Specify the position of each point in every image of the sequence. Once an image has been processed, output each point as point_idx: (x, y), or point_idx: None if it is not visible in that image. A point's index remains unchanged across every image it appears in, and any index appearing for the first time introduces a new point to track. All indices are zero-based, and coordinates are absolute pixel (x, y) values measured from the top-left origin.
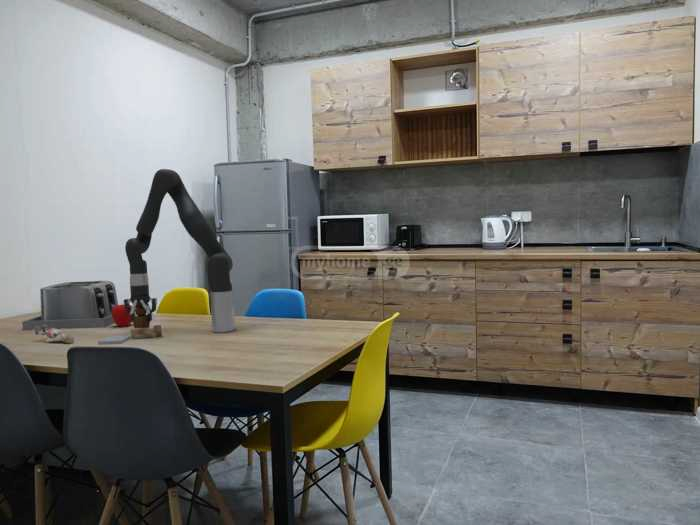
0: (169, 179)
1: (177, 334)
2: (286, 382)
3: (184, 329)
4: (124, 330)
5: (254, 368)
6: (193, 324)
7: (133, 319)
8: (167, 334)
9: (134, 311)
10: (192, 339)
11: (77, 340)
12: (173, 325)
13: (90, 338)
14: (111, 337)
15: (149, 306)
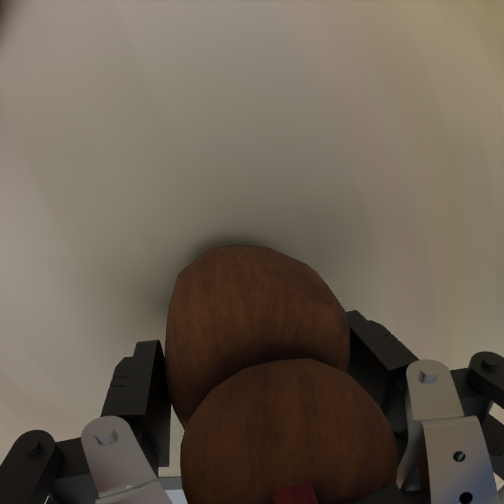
0: None
1: (472, 346)
2: (497, 490)
3: (494, 205)
4: (15, 205)
5: (497, 482)
6: (484, 39)
7: (167, 415)
8: (434, 355)
9: (135, 455)
10: (494, 404)
11: (5, 456)
12: (386, 12)
13: (16, 436)
14: (171, 500)
15: (470, 435)
